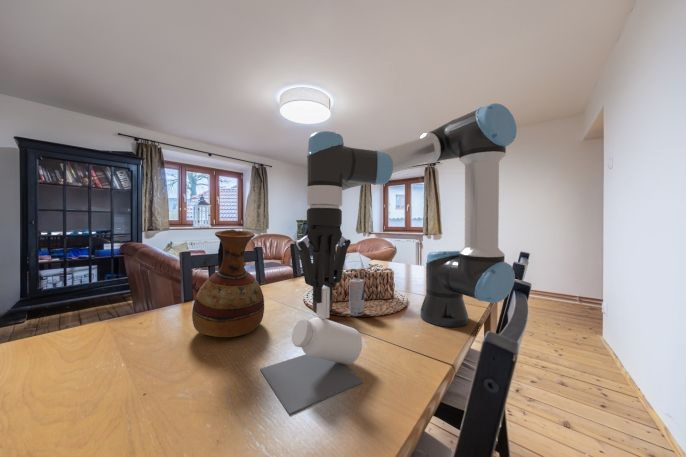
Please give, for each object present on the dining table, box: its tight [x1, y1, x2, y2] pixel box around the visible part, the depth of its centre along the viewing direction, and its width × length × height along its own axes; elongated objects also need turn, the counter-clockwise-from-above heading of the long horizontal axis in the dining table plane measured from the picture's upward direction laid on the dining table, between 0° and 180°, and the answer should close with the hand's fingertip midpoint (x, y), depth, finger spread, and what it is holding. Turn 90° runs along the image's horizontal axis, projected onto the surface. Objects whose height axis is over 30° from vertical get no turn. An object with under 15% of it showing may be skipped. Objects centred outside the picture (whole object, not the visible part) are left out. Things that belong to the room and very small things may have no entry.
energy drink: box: [348, 277, 365, 317], centre depth 92 cm, size 5×5×12 cm
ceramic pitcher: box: [191, 229, 265, 338], centre depth 78 cm, size 20×20×30 cm
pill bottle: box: [291, 316, 363, 365], centre depth 57 cm, size 8×8×15 cm
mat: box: [259, 353, 364, 416], centre depth 55 cm, size 16×16×1 cm
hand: (322, 316), depth 57 cm, fingers closed
